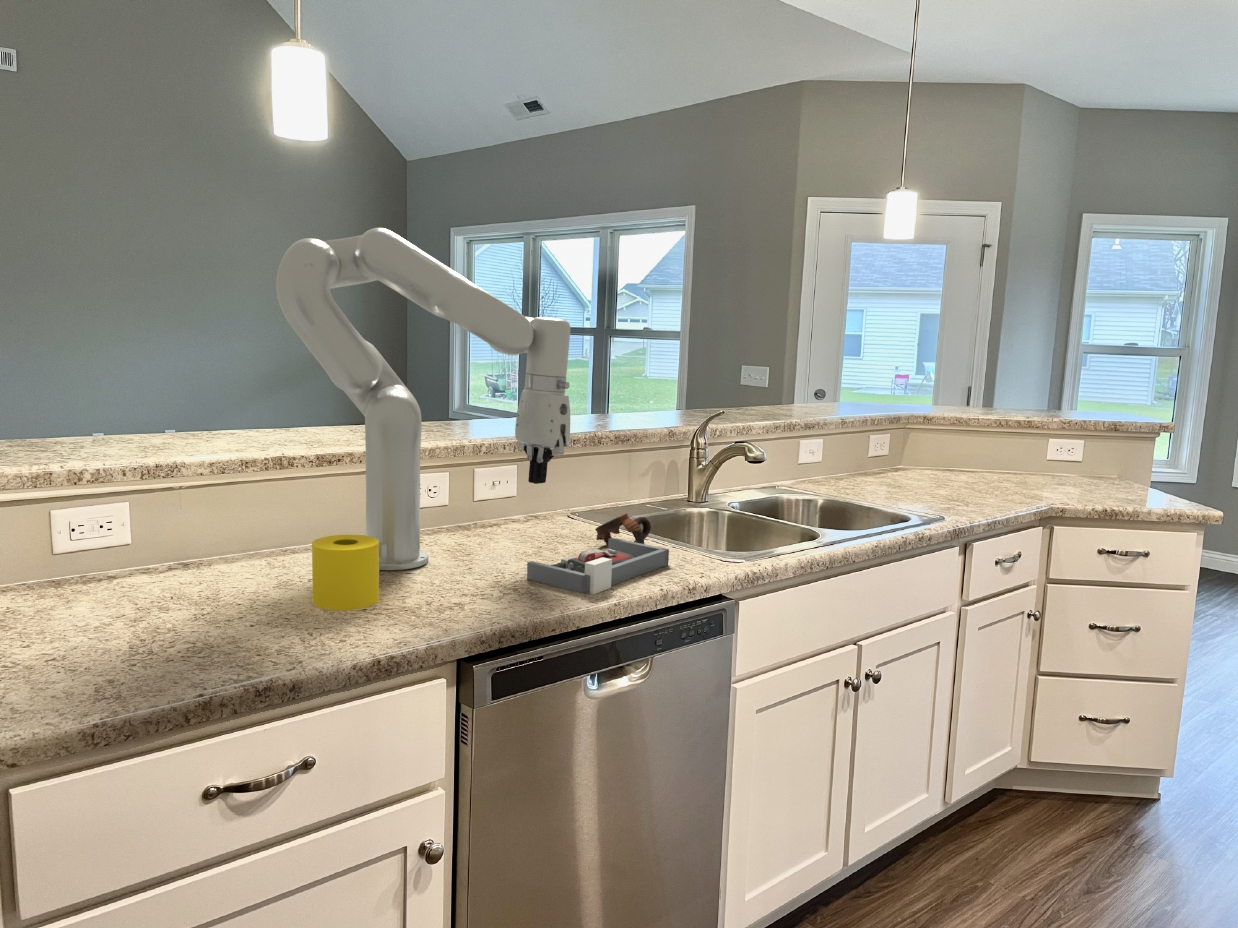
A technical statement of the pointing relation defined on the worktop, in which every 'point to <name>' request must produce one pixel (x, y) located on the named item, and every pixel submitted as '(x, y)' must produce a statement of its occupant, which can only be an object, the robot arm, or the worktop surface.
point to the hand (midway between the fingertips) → (537, 482)
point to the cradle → (602, 568)
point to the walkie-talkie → (586, 556)
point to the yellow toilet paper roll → (345, 572)
